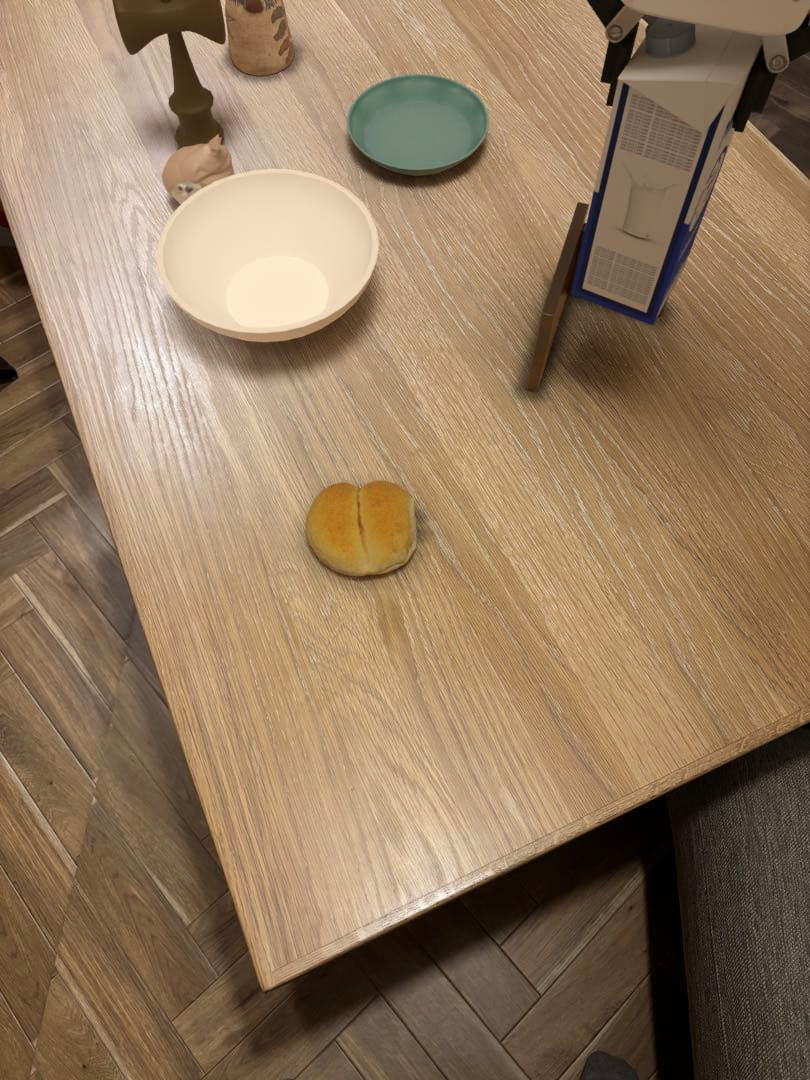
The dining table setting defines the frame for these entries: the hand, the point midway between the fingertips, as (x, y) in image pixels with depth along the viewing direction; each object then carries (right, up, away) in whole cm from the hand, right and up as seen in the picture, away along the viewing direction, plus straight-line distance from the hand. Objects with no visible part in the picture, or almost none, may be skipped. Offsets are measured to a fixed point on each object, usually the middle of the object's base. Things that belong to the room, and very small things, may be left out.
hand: (677, 103), depth 54 cm
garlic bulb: (-37, +7, +34) cm, 51 cm away
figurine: (-33, +28, +45) cm, 62 cm away
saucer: (-16, +15, +38) cm, 44 cm away
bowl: (-29, -5, +28) cm, 41 cm away
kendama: (-39, +15, +38) cm, 57 cm away
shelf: (+1, -10, +26) cm, 27 cm away
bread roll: (-20, -27, +17) cm, 38 cm away
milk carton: (0, -7, +14) cm, 15 cm away
